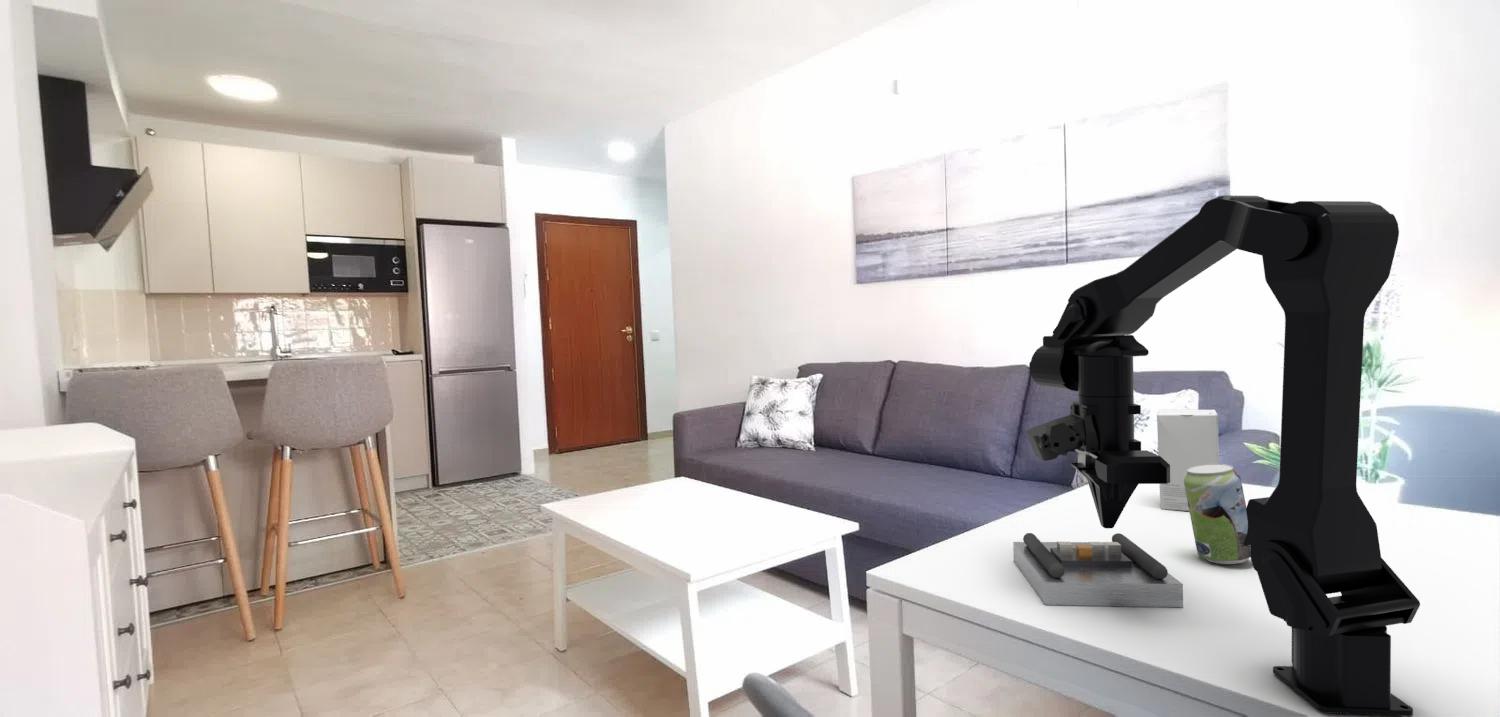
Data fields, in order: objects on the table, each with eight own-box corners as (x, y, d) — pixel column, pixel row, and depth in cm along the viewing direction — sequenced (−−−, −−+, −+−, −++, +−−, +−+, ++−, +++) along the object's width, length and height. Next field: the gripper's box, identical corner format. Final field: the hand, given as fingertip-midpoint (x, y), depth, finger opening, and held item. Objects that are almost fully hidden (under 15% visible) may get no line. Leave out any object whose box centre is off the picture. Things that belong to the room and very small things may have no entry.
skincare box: (1219, 505, 111) (1218, 409, 110) (1221, 515, 105) (1220, 414, 104) (1158, 500, 115) (1157, 407, 114) (1157, 509, 109) (1156, 412, 109)
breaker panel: (1183, 607, 73) (1182, 565, 73) (1045, 604, 75) (1044, 564, 75) (1128, 562, 87) (1128, 526, 87) (1013, 560, 89) (1012, 526, 89)
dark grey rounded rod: (1170, 581, 74) (1170, 567, 74) (1154, 581, 74) (1154, 566, 74) (1123, 544, 86) (1123, 531, 86) (1109, 544, 86) (1109, 531, 86)
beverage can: (1265, 570, 83) (1265, 471, 82) (1197, 568, 84) (1196, 470, 83) (1239, 552, 89) (1238, 460, 88) (1176, 551, 90) (1175, 460, 90)
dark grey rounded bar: (1066, 580, 75) (1066, 565, 75) (1051, 580, 75) (1051, 565, 75) (1035, 543, 88) (1034, 531, 88) (1021, 543, 88) (1021, 531, 88)
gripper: (1013, 388, 90) (1015, 506, 91) (1057, 405, 71) (1059, 553, 72) (1103, 386, 88) (1105, 506, 89) (1172, 403, 70) (1173, 554, 71)
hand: (1107, 527), depth 80 cm, fingers closed
